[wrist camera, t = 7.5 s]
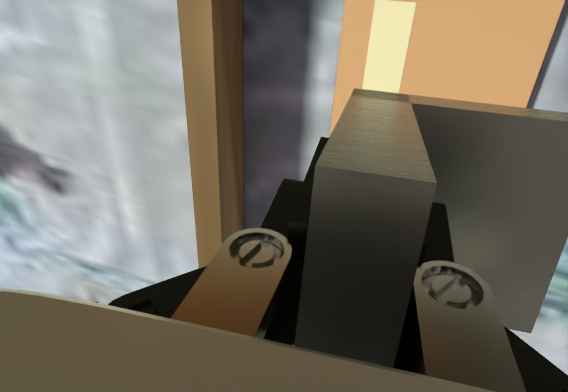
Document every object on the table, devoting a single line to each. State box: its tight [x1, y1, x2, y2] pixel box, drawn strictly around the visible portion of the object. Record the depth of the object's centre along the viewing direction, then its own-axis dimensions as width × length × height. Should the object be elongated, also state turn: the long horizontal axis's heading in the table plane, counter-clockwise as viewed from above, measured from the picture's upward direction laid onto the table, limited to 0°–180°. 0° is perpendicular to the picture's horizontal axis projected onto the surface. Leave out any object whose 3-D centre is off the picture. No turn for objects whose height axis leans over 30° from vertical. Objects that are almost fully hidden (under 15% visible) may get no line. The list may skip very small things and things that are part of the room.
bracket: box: [294, 88, 568, 368], centre depth 9 cm, size 6×6×8 cm
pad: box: [330, 0, 565, 135], centre depth 21 cm, size 9×9×1 cm
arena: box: [177, 0, 244, 268], centre depth 20 cm, size 26×23×4 cm
